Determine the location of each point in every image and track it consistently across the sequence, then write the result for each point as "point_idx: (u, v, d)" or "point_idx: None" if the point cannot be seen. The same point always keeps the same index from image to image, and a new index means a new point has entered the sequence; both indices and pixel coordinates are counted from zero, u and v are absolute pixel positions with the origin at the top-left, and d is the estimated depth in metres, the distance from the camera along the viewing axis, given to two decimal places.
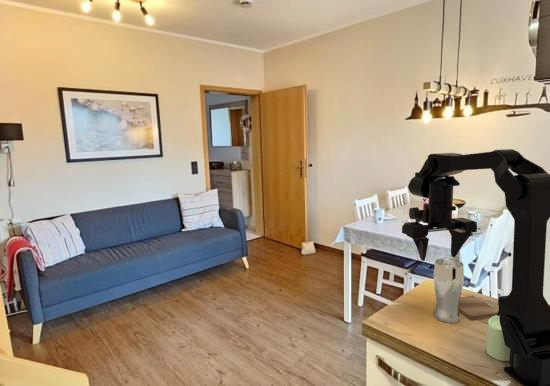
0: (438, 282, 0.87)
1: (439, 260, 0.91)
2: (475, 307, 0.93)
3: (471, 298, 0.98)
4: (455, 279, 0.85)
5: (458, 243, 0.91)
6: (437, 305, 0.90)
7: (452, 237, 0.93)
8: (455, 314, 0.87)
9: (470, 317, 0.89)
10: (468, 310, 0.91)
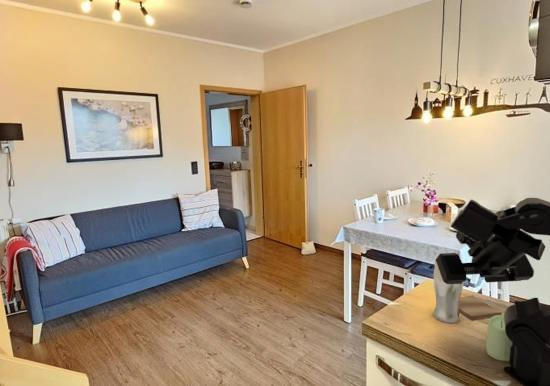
0: (438, 282, 0.87)
1: None
2: (475, 307, 0.93)
3: (471, 298, 0.98)
4: None
5: (498, 279, 0.76)
6: (437, 305, 0.90)
7: None
8: (455, 314, 0.87)
9: (470, 317, 0.89)
10: (468, 310, 0.91)
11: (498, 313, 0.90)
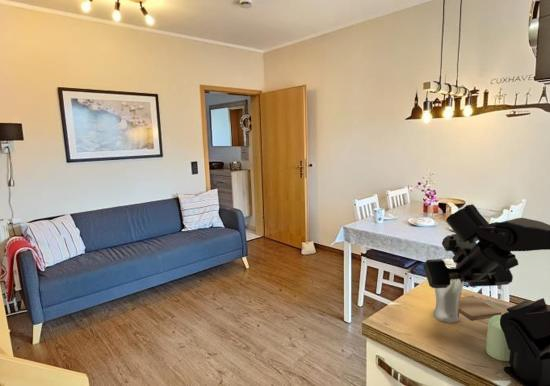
0: None
1: None
2: (475, 307, 0.93)
3: (471, 298, 0.98)
4: None
5: (481, 283, 0.83)
6: (437, 305, 0.90)
7: None
8: (455, 314, 0.87)
9: (470, 317, 0.89)
10: (468, 310, 0.91)
11: (498, 313, 0.90)
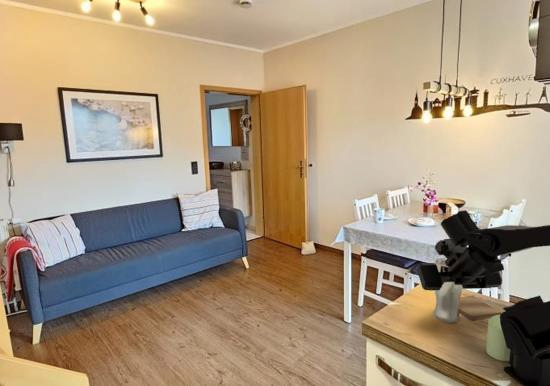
0: None
1: (439, 260, 0.91)
2: (475, 307, 0.93)
3: (471, 298, 0.98)
4: None
5: (471, 286, 0.86)
6: (437, 305, 0.90)
7: None
8: (455, 314, 0.87)
9: (470, 317, 0.89)
10: (468, 310, 0.91)
11: (498, 313, 0.90)
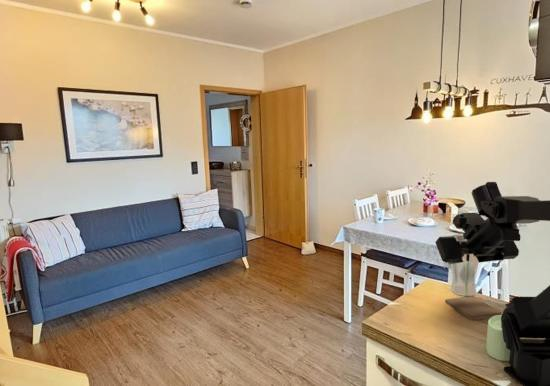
0: None
1: (454, 236, 0.93)
2: (475, 307, 0.93)
3: (471, 298, 0.98)
4: None
5: (484, 259, 0.88)
6: (454, 280, 0.91)
7: None
8: (472, 288, 0.89)
9: (470, 317, 0.89)
10: (468, 310, 0.91)
11: (498, 313, 0.90)
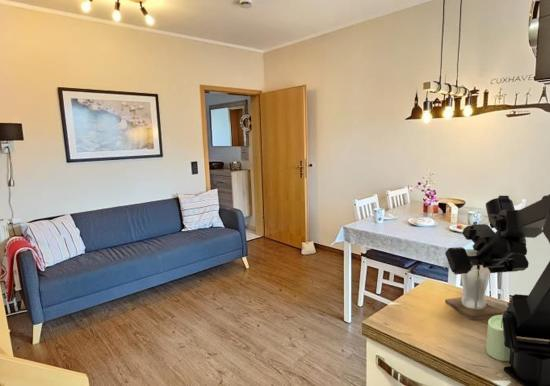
0: None
1: (466, 251, 0.94)
2: None
3: None
4: (482, 268, 0.89)
5: (498, 270, 0.90)
6: (464, 294, 0.93)
7: None
8: (482, 302, 0.91)
9: (470, 317, 0.89)
10: (468, 310, 0.91)
11: (498, 313, 0.90)
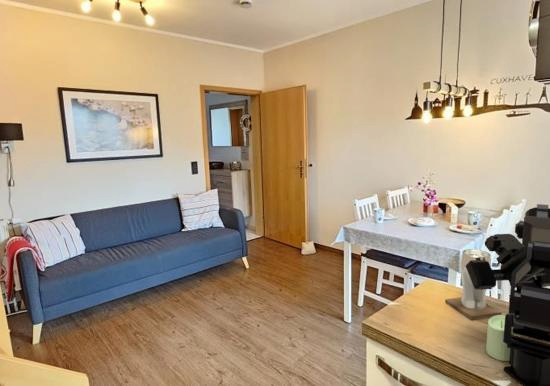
0: (466, 271, 0.91)
1: (466, 251, 0.94)
2: None
3: None
4: None
5: None
6: (464, 294, 0.93)
7: None
8: (482, 302, 0.91)
9: (470, 317, 0.89)
10: (468, 310, 0.91)
11: (498, 313, 0.90)
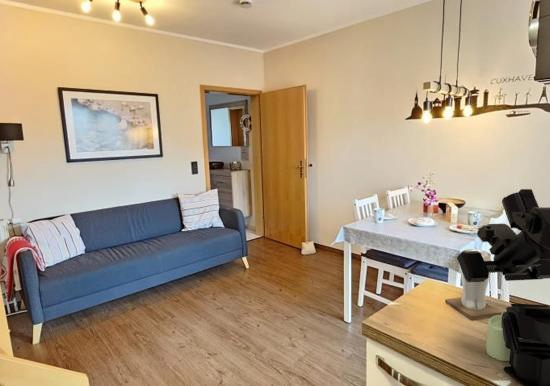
0: None
1: None
2: None
3: None
4: None
5: (519, 277, 0.76)
6: (464, 294, 0.93)
7: None
8: (482, 302, 0.91)
9: (470, 317, 0.89)
10: (468, 310, 0.91)
11: (498, 313, 0.90)
